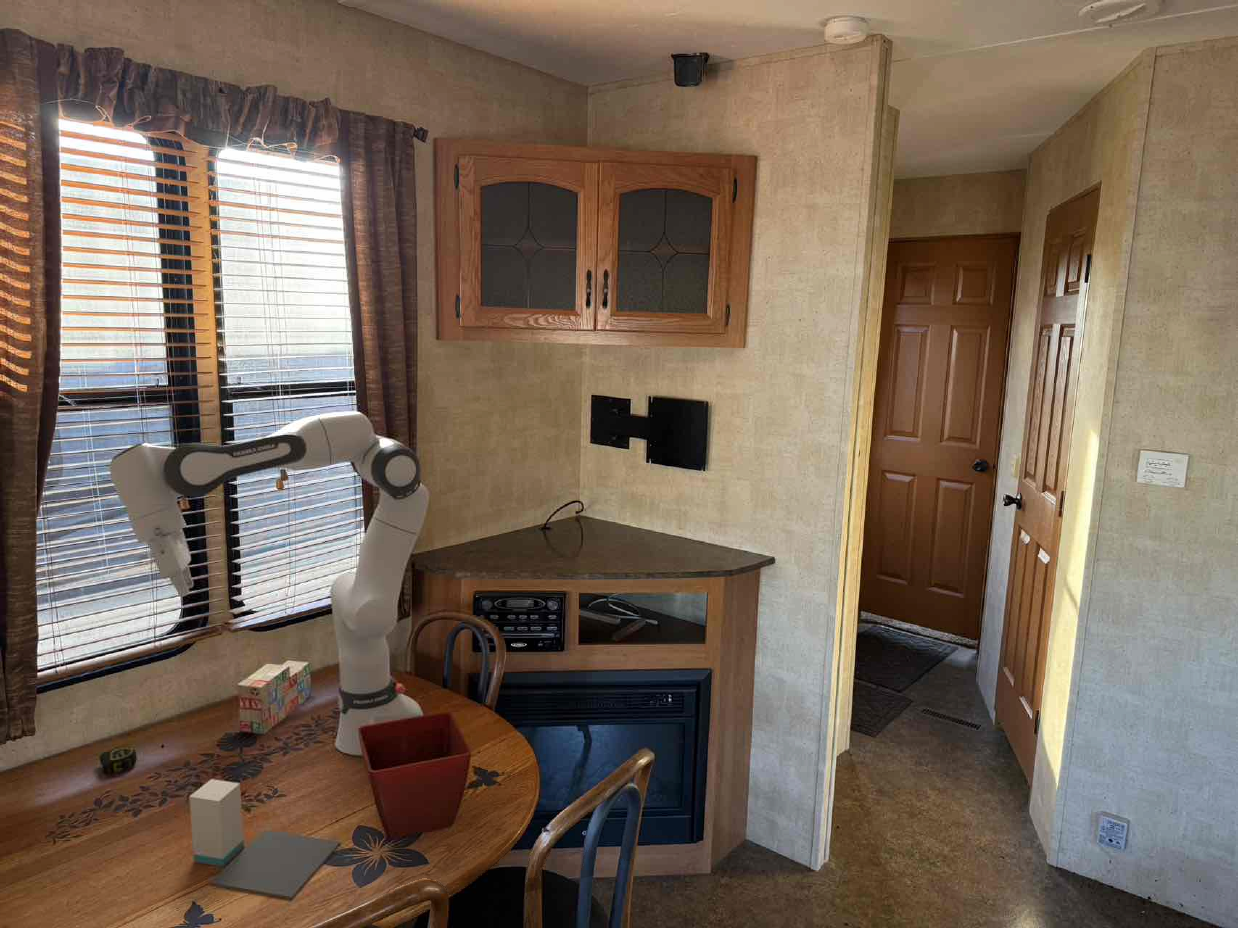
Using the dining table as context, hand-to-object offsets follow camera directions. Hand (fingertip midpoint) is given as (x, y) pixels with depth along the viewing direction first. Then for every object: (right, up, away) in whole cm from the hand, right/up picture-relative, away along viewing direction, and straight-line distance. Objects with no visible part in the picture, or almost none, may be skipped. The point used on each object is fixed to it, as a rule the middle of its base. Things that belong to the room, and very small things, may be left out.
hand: (187, 591), depth 171 cm
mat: (+23, -48, -12) cm, 54 cm away
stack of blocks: (0, -37, +45) cm, 59 cm away
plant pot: (+44, -46, +3) cm, 64 cm away
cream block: (+11, -47, -10) cm, 49 cm away
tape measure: (-24, -42, +18) cm, 52 cm away
